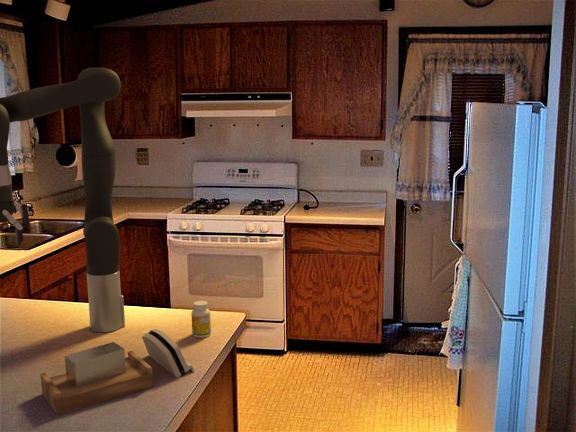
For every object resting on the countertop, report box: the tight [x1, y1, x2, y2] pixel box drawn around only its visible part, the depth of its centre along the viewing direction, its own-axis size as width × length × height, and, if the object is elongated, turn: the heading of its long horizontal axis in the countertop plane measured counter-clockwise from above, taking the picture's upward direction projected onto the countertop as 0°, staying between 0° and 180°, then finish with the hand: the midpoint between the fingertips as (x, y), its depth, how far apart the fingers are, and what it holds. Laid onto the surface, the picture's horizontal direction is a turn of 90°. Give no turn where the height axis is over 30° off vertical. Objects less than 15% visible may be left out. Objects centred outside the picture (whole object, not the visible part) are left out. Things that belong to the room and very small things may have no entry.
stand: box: [40, 350, 154, 416], centre depth 143 cm, size 12×22×5 cm, turn 126°
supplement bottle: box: [191, 300, 212, 339], centre depth 176 cm, size 5×5×10 cm
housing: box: [64, 341, 126, 388], centre depth 142 cm, size 6×12×6 cm, turn 133°
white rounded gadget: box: [141, 328, 195, 378], centre depth 157 cm, size 17×5×10 cm, turn 37°
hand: (0, 246), depth 156 cm, fingers open, 8 cm apart
